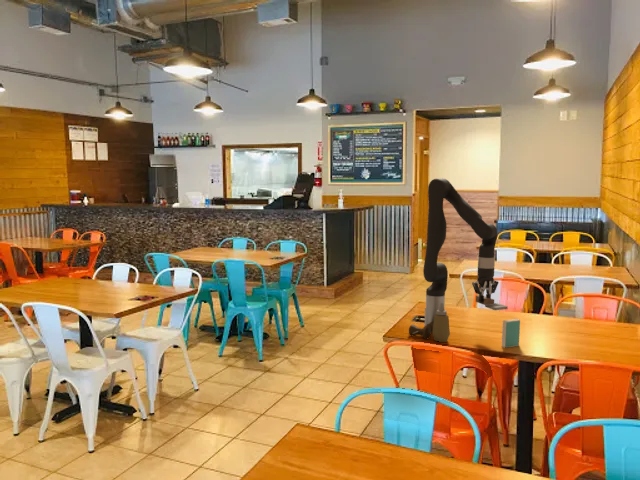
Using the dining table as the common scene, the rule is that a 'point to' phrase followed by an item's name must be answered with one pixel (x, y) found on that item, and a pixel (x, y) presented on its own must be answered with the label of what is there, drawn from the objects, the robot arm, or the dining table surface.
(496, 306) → the dark piece
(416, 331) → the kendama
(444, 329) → the squeeze bottle
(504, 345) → the ceramic tile
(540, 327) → the dining table surface
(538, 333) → the dining table surface
